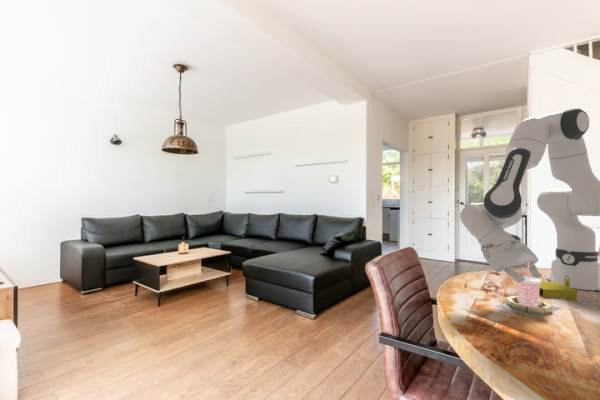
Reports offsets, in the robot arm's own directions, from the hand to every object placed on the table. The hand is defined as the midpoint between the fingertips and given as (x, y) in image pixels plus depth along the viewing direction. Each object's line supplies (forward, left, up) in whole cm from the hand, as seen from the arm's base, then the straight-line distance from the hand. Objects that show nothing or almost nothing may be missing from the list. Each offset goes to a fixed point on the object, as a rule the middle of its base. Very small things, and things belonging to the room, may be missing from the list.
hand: (530, 279), depth 88 cm
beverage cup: (0, -1, -9) cm, 9 cm away
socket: (0, -1, -9) cm, 9 cm away
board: (0, -1, -10) cm, 10 cm away
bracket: (-21, -6, -11) cm, 24 cm away
